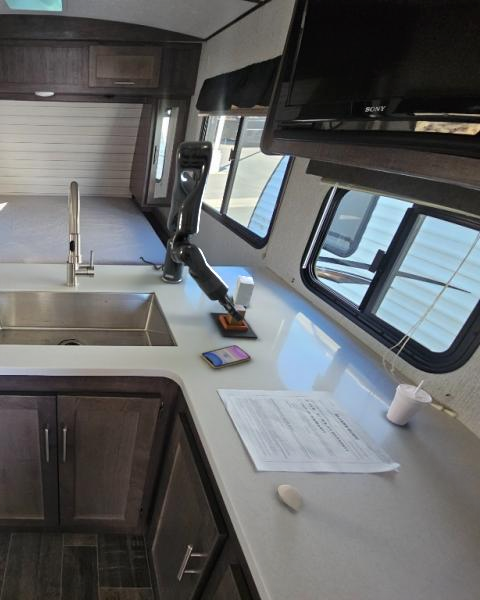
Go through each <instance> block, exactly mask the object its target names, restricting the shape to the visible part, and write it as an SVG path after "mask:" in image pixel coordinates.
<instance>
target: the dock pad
mask: <svg viewBox="0 0 480 600" xmlns="http://www.w3.org/2000/svg"><path fill="white" fill-rule="evenodd" d="M227 313H228V312H210V316H211V318H212V319H213V321H214V323H215V325H216V327H217V328H218V331H219V332H220V334H221V336H222V337H223V338H233V339H252V340H257V339H258V335H257V334H256V332H255V331H254V330H253V328H252V327H251V325H250V324H249V323H248V321H247V320H246V319H245V318H244V319H243V323H242V326H232V325H228V324H227V323H226V321H225V320H226V316H227Z"/></svg>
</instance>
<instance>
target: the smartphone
mask: <svg viewBox="0 0 480 600" xmlns="http://www.w3.org/2000/svg"><path fill="white" fill-rule="evenodd" d="M200 355H201V357H202V358H203V360H205V361H206V362H207V363H208V364H209V365H210V366H211V368H213V369H220V368H225V367H229V366H232V365H236V364H240V363H243V362H247V361H251V359H252V357H251V356H250V355H249V354H248V353H247V352H245V351H244V350H243V349H242V348H240V347H239V346H238V345H236V344H234V345H230V346H225V347H222V348H217V349H213V350H209V351H205V352H202V353H201V354H200Z"/></svg>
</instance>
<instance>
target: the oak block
mask: <svg viewBox="0 0 480 600" xmlns="http://www.w3.org/2000/svg"><path fill="white" fill-rule="evenodd" d="M234 305H235V308H236V310H238V312H239V314H240V315H241V316H242V317H243V319H245V316H246V312H247V310H246V308H245V306H242V305H236V304H234ZM226 313H227V316H226V320H225V321H226V323H227V324H228V325H232V326H242V323H243V319H242V320H241V321H239V322H238V321H237V320H236V319H235V318H234V317H232V316H231V315H230V313H229V312H228V311H227V312H226ZM231 313H232V312H231Z"/></svg>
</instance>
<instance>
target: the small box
mask: <svg viewBox="0 0 480 600" xmlns="http://www.w3.org/2000/svg"><path fill="white" fill-rule="evenodd" d="M254 288H255V281H254V279H253V277H252V276H246V275H245V276H244V275H238V276H237V278H236V284H235V287H234V291H233V294H232V299H233V303H234V304H236V305H242V306H243V307H249V305H250V301H251V298H252V295H253V291H254Z"/></svg>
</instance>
